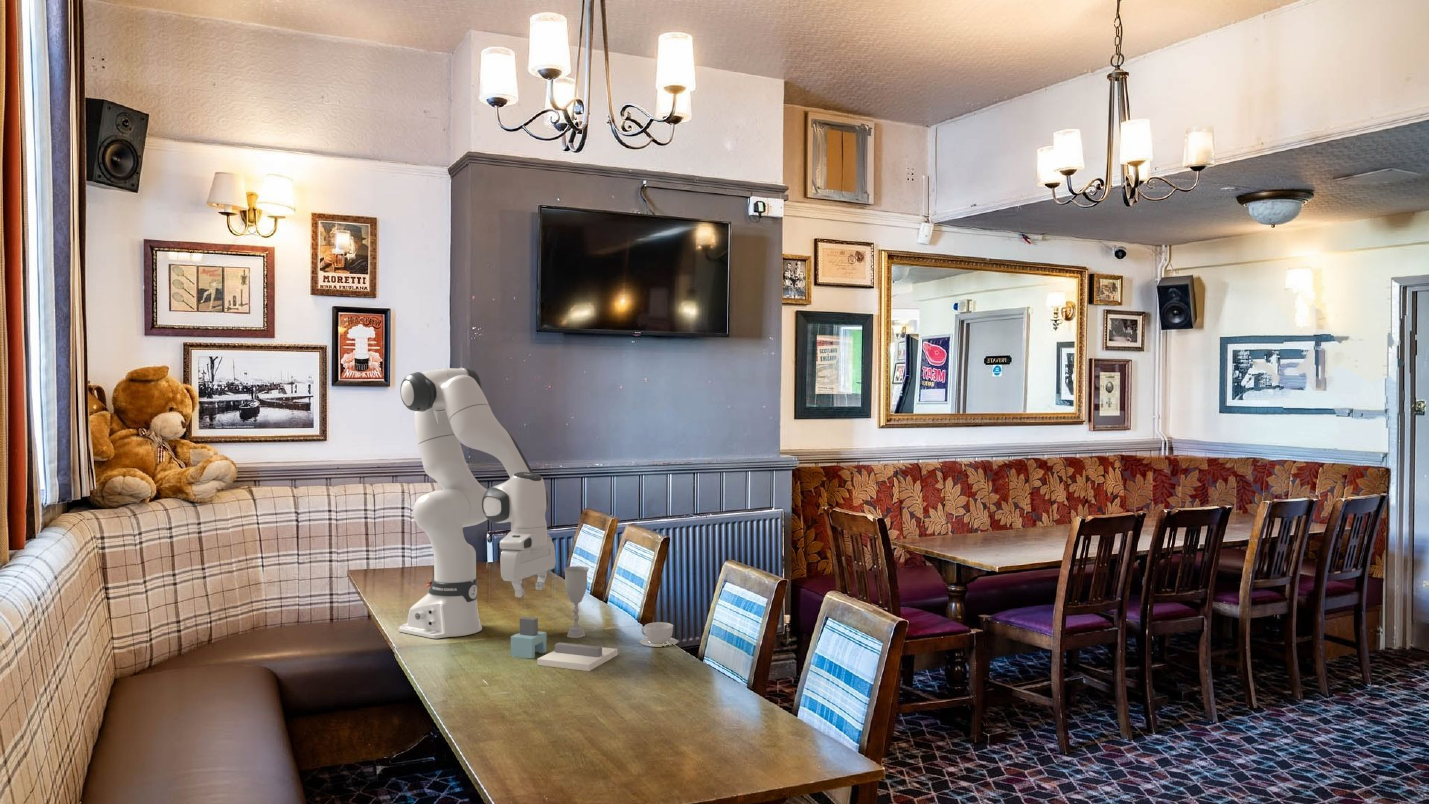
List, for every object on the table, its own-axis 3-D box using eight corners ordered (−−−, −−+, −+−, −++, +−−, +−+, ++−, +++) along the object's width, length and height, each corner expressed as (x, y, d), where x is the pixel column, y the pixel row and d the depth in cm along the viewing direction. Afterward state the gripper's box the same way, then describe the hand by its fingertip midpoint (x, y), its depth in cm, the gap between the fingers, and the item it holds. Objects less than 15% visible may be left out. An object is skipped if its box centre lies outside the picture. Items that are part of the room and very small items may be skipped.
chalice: (583, 639, 258) (583, 571, 258) (559, 638, 259) (559, 570, 259) (592, 632, 265) (592, 566, 265) (568, 631, 267) (568, 565, 266)
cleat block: (510, 656, 242) (510, 620, 242) (525, 649, 248) (526, 614, 248) (531, 659, 239) (531, 622, 239) (546, 651, 246) (546, 616, 246)
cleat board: (537, 665, 234) (537, 650, 234) (568, 649, 248) (568, 635, 248) (588, 671, 229) (588, 656, 229) (617, 655, 243) (617, 641, 243)
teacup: (684, 641, 258) (684, 623, 258) (667, 650, 249) (667, 631, 249) (650, 637, 262) (650, 619, 262) (632, 646, 253) (632, 627, 253)
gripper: (540, 531, 254) (541, 584, 254) (495, 543, 235) (496, 600, 235) (561, 532, 252) (562, 586, 252) (517, 544, 233) (518, 601, 233)
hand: (530, 593), depth 243 cm, fingers open, 8 cm apart
